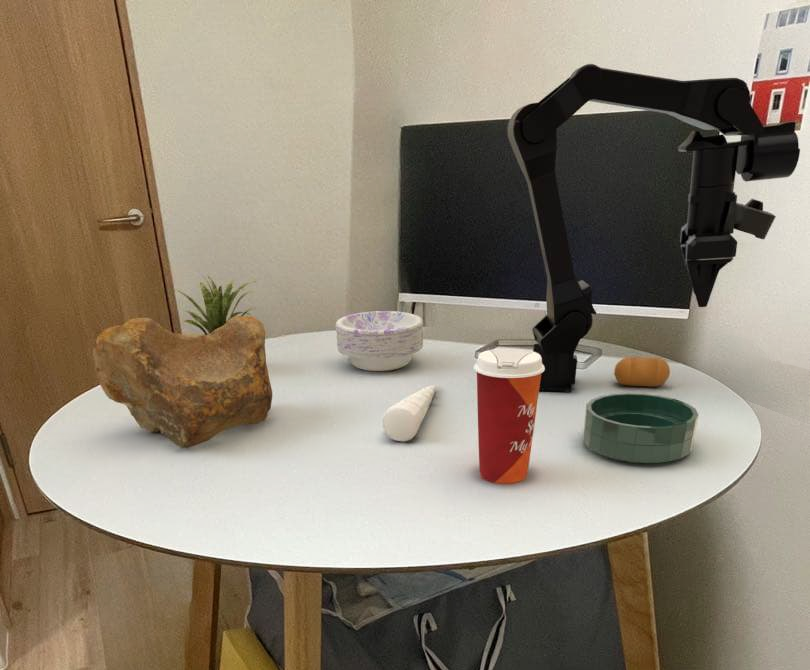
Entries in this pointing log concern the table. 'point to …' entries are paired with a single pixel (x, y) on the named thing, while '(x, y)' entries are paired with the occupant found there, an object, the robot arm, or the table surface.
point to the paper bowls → (379, 339)
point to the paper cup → (506, 412)
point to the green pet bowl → (639, 427)
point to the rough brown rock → (186, 377)
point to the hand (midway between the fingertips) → (700, 300)
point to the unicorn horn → (407, 415)
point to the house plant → (215, 306)
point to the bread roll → (642, 371)
